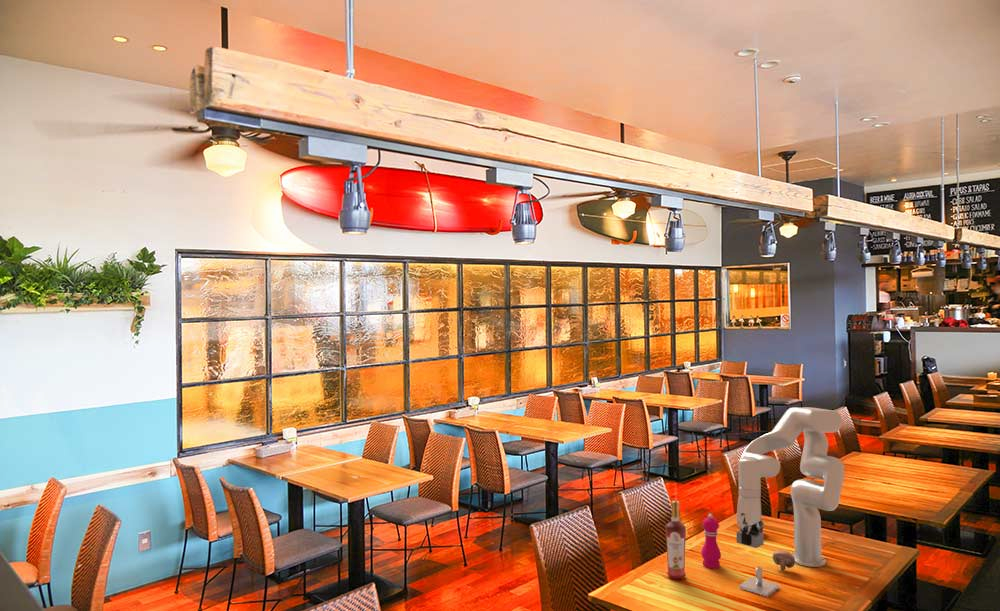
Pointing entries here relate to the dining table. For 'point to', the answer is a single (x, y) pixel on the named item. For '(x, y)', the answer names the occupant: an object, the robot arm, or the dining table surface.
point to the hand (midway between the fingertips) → (750, 541)
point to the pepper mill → (711, 543)
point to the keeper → (759, 584)
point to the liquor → (675, 545)
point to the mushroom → (784, 559)
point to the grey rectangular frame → (752, 538)
